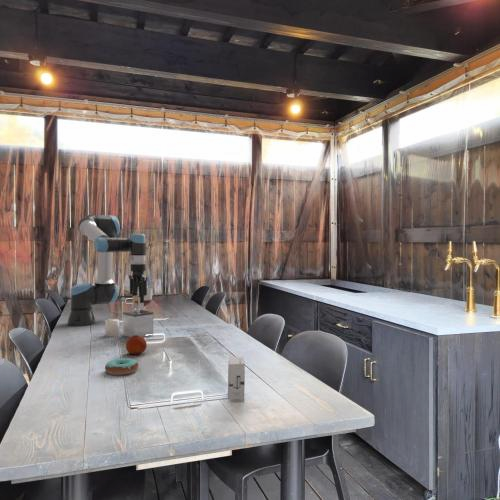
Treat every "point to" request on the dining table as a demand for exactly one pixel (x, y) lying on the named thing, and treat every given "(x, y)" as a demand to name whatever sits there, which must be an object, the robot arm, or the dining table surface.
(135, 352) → the fruit
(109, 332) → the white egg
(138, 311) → the gold knobbed rod
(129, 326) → the grey block with hole
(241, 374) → the ink box
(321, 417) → the dining table surface
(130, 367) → the donut
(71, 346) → the dining table surface
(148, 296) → the wineglass
